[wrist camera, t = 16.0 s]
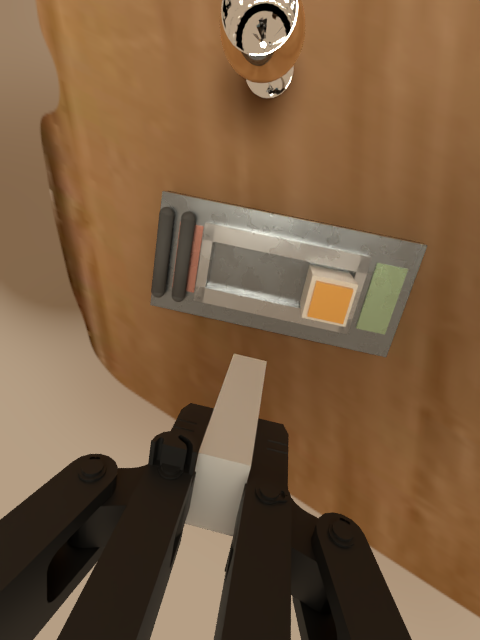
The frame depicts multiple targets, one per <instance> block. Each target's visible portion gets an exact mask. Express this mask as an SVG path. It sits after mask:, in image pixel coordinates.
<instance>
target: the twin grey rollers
mask: <svg viewBox="0 0 480 640" xmlns="http://www.w3.org/2000/svg"><path fill="white" fill-rule="evenodd" d="M173 219H174V212H173V210H172V209H171V208H170V207H163V208H162V209H161V210H160V214H159V223H158V233H157V242H156V252H155V261H154V271H153V280H152V290H151V292H152V295H153V296H154V297H157V298H160V297H162V296H163V295H164V293H165V287H166V278H167V270H168V261H169V253H170V245H171V236H172V228H173ZM195 220H196V218H195V215H194V214H193V213H192V212H190V211H186V212H184V213H183V214H182V216H181V224H180V231H179V239H178V247H177V255H176V263H175V271H174V279H173V287H172V299H173V300H174V301H176V302H181V301H183V300H184V298H185V292H186V285H187V278H188V270H189V263H190V256H191V249H192V242H193V235H194V228H195Z"/></svg>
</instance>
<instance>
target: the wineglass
mask: <svg viewBox="0 0 480 640" xmlns="http://www.w3.org/2000/svg"><path fill="white" fill-rule="evenodd" d="M220 36H221V42H222V46H223V50H224V53H225V55H226V57H227V59H228V61H229V63H230V65H231V66H232V68H233V69H234V70H235V71H236V72H237V73H238V74H239V75H240V76H242V77H243V78H245V79H246V82H247V85H248V87H249V88H250V90H251V91H252V92H253V93H254V94H255V95H257V96H258V97H261V98H265V99H271V98H275V97H278V96H279V95H281V94H282V93H283V92H285V91H286V89H287V88H288V87H289V85H290V83H291V81H292V78H293V73H294V64H295V62H296V60H297V59H298V57H299V55H300V52H301V50H302V47H303V43H304V38H305V14H304V8H303V4H302V1H301V0H222V6H221V13H220Z"/></svg>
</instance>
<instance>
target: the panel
mask: <svg viewBox="0 0 480 640" xmlns="http://www.w3.org/2000/svg"><path fill="white" fill-rule="evenodd" d="M163 207H170V208H171V209H172V210H173V212H174V219H173V228H172V236H171V245H170V253H169V261H168V270H167V278H166V287H165V293H164V295H163V296H162V297H160V298H157V297H154V296H153V295H151V305H153V306H158V307H162V308H167V309H171V310H176V311H180V312H185V313H189V314H194V315H198V316H203V317H207V318H212V319H216V320H221V321H225V322H230V323H234V324H239V325H243V326H248V327H252V328H257V329H261V330H266V331H270V332H275V333H279V334H284V335H288V336H293V337H297V338H302V339H306V340H311V341H315V342H320V343H324V344H329V345H333V346H338V347H342V348H347V349H351V350H356V351H360V352H365V353H369V354H374V355H378V356H383V357H386V356H387V354H388V351H389V348H390V346H391V343H392V340H393V337H394V335H395V332H396V329H397V327H398V324H399V321H400V318H401V316H402V313H403V310H404V308H405V305H406V302H407V299H408V297H409V294H410V291H411V289H412V286H413V283H414V280H415V278H416V275H417V272H418V270H419V267H420V264H421V261H422V259H423V256H424V253H425V251H426V248H427V245H425V244H423V243H420V242H415V241H410V240H405V239H400V238H396V237H391V236H386V235H381V234H376V233H371V232H366V231H361V230H356V229H352V228H347V227H342V226H337V225H332V224H327V223H322V222H317V221H313V220H308V219H303V218H298V217H293V216H288V215H283V214H278V213H274V212H269V211H264V210H259V209H254V208H249V207H244V206H239V205H235V204H230V203H225V202H220V201H215V200H210V199H205V198H200V197H195V196H191V195H186V194H181V193H176V192H171V191H162V201H161V209H162V208H163ZM186 211H190V212H192V213H193V214H194V215H195V218H196V220H195V228H194V235H193V242H192V249H191V256H190V263H189V270H188V278H187V285H186V292H185V298H184V300H183V301H181V302H176V301H174V300H173V299H172V287H173V279H174V271H175V263H176V255H177V247H178V239H179V231H180V224H181V216H182V214H183V213H184V212H186ZM310 264H312V265H316V266H321V267H326V268H331V269H335V270H340V271H345V272H349V273H350V274H351V275H352V277H353V278H354V279H355V281H356V282H357V284H358V288H357V291H356V294H355V297H354V301H353V304H352V307H351V310H350V313H349V317H348V320H347V323H346V326H345V327H343V326H338V325H334V324H329V323H325V322H320V321H316V320H311V319H306V318H302V317H301V307H300V300H301V296H302V292H303V288H304V284H305V280H306V276H307V273H308V269H309V265H310Z"/></svg>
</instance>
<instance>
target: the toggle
mask: <svg viewBox="0 0 480 640" xmlns="http://www.w3.org/2000/svg"><path fill="white" fill-rule="evenodd" d="M357 288H358V284H357V282H356V281H355V279H354V278H353V277H352V275H351V274H350V273H349V272H345V271H340V270H335V269H331V268H326V267H321V266H316V265H312V264H310V265H309V269H308V273H307V276H306V280H305V284H304V288H303V292H302V296H301V300H300V307H301V317H302V318H306V319H311V320H316V321H320V322H325V323H329V324H334V325H338V326H343V327H345V326H346V323H347V320H348V317H349V313H350V310H351V307H352V304H353V301H354V297H355V294H356V291H357Z"/></svg>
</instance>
